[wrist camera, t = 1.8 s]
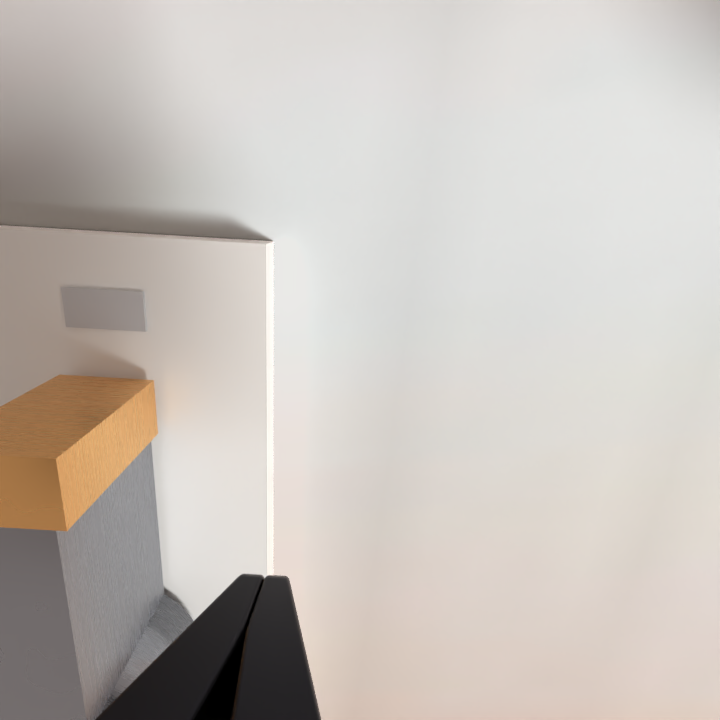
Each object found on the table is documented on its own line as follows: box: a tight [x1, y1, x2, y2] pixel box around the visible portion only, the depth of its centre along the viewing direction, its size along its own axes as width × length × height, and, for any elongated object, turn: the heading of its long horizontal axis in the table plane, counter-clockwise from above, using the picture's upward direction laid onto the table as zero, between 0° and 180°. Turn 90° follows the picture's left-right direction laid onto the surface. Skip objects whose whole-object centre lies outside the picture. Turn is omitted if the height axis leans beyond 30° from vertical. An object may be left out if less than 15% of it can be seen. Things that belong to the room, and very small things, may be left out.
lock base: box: [0, 225, 274, 621], centre depth 15 cm, size 20×14×1 cm
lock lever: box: [0, 374, 193, 720], centre depth 12 cm, size 10×4×4 cm, turn 177°
